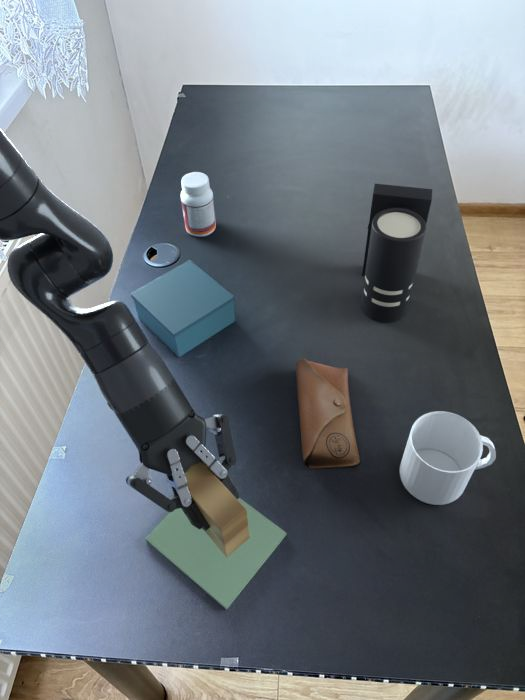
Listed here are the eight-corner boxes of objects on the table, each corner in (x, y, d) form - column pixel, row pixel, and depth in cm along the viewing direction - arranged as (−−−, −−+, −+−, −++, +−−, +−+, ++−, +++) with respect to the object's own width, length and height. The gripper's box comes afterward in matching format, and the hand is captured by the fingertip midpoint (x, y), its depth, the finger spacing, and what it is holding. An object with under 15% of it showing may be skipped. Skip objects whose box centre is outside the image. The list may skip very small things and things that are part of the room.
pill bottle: (187, 218, 121) (180, 169, 113) (217, 218, 121) (212, 169, 112) (183, 237, 117) (175, 189, 109) (214, 238, 117) (209, 189, 108)
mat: (226, 610, 72) (226, 608, 72) (145, 540, 78) (145, 538, 78) (286, 534, 78) (286, 532, 78) (207, 475, 84) (207, 473, 83)
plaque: (250, 538, 72) (246, 509, 66) (227, 557, 70) (221, 530, 64) (199, 482, 77) (192, 450, 71) (177, 499, 75) (167, 468, 69)
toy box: (237, 321, 103) (234, 296, 98) (178, 359, 98) (173, 334, 93) (193, 284, 109) (189, 259, 104) (136, 318, 104) (130, 293, 99)
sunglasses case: (364, 464, 84) (343, 444, 79) (320, 479, 86) (297, 460, 82) (347, 364, 95) (328, 342, 91) (309, 380, 98) (288, 359, 94)
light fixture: (353, 318, 102) (364, 236, 89) (362, 265, 111) (372, 183, 97) (411, 326, 101) (431, 244, 87) (415, 271, 109) (434, 189, 96)
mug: (399, 502, 80) (411, 468, 73) (398, 444, 86) (408, 408, 79) (491, 511, 79) (512, 478, 72) (483, 452, 85) (502, 416, 78)
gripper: (94, 431, 60) (181, 565, 63) (205, 357, 66) (280, 483, 69) (81, 426, 67) (161, 548, 70) (183, 360, 72) (252, 475, 76)
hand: (219, 515), depth 70 cm, fingers closed on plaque, 3 cm apart
